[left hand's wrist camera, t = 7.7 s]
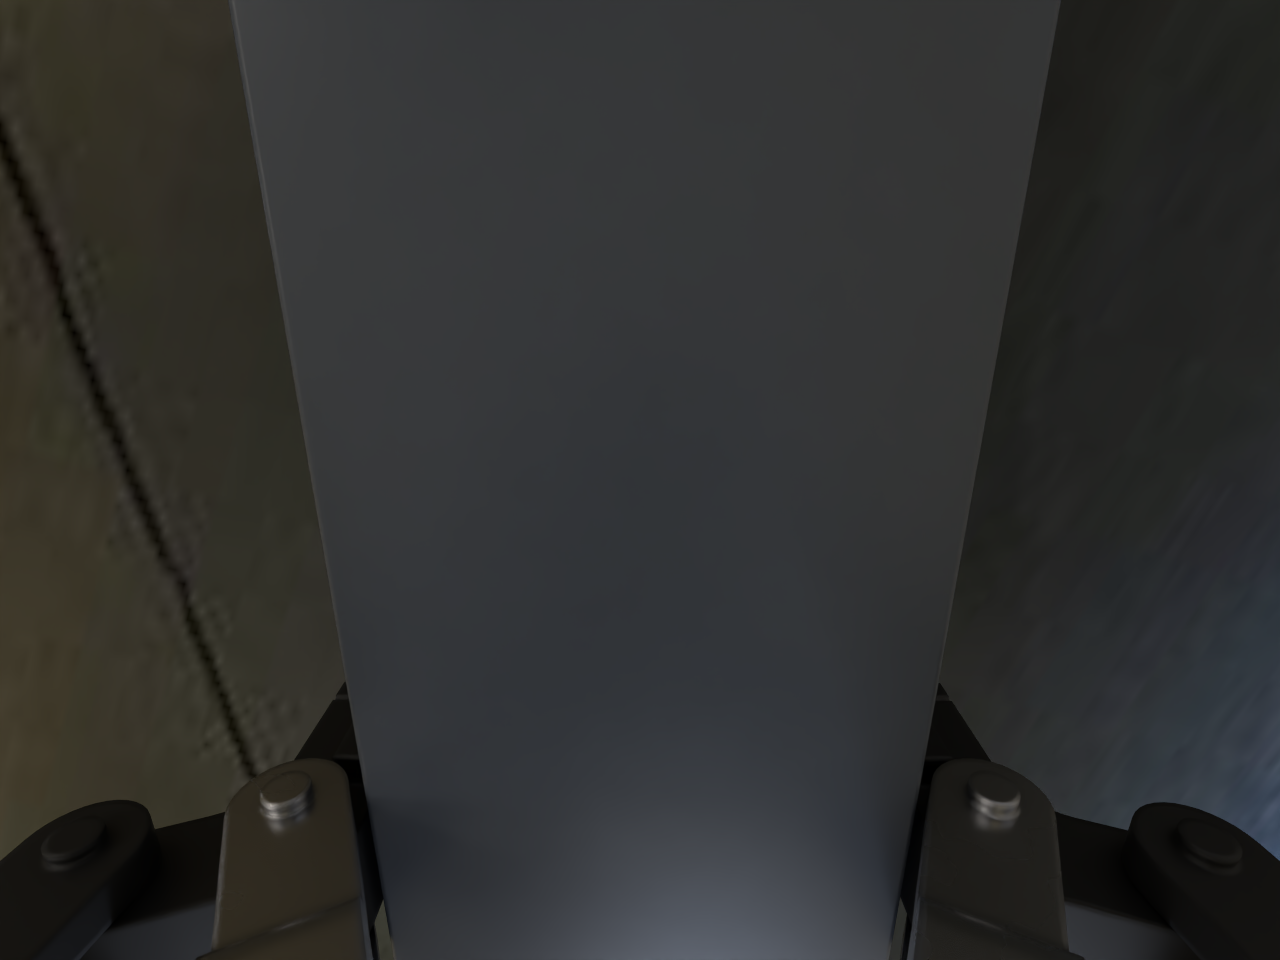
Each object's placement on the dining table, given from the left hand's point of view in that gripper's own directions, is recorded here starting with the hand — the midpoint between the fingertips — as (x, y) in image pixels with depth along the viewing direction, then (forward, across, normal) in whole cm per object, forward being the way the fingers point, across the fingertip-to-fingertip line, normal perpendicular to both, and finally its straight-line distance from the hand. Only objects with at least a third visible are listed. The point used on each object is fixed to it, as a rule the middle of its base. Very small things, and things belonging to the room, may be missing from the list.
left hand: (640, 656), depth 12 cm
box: (+6, 0, -10) cm, 11 cm away
